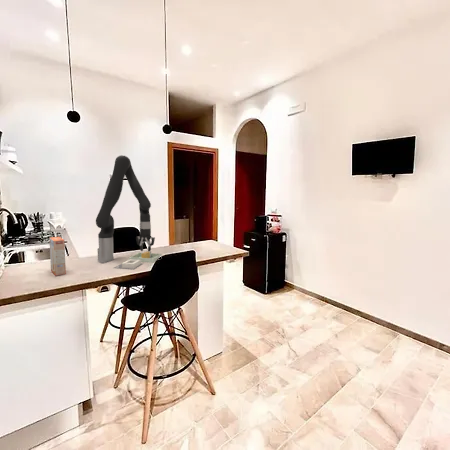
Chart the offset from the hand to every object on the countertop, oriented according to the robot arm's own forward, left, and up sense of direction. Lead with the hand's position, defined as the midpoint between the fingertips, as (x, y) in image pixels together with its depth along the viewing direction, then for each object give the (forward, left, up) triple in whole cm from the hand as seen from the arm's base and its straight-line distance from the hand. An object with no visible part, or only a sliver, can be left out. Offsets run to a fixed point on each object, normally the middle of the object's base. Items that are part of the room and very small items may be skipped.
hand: (145, 250), depth 189 cm
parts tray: (0, 0, -7) cm, 7 cm away
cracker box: (-38, -38, -7) cm, 54 cm away
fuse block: (-3, -19, -7) cm, 20 cm away
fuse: (0, +6, -4) cm, 7 cm away
